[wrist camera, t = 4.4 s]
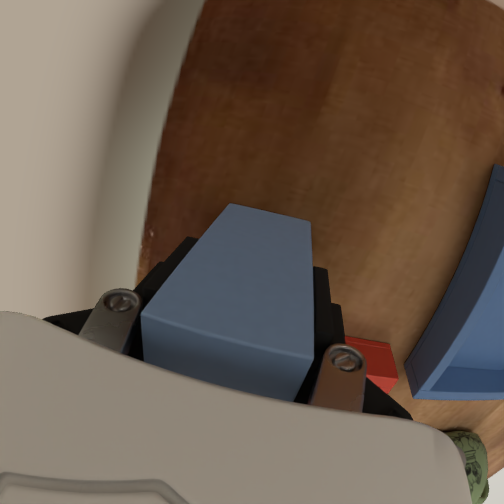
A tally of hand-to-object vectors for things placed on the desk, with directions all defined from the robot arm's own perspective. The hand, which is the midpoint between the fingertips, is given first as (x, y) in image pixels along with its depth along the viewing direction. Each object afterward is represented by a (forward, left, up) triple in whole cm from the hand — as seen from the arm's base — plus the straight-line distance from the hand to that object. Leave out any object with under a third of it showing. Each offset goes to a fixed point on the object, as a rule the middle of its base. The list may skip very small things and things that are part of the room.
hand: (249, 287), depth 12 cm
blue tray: (-1, +17, -4) cm, 17 cm away
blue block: (0, 0, -4) cm, 4 cm away
